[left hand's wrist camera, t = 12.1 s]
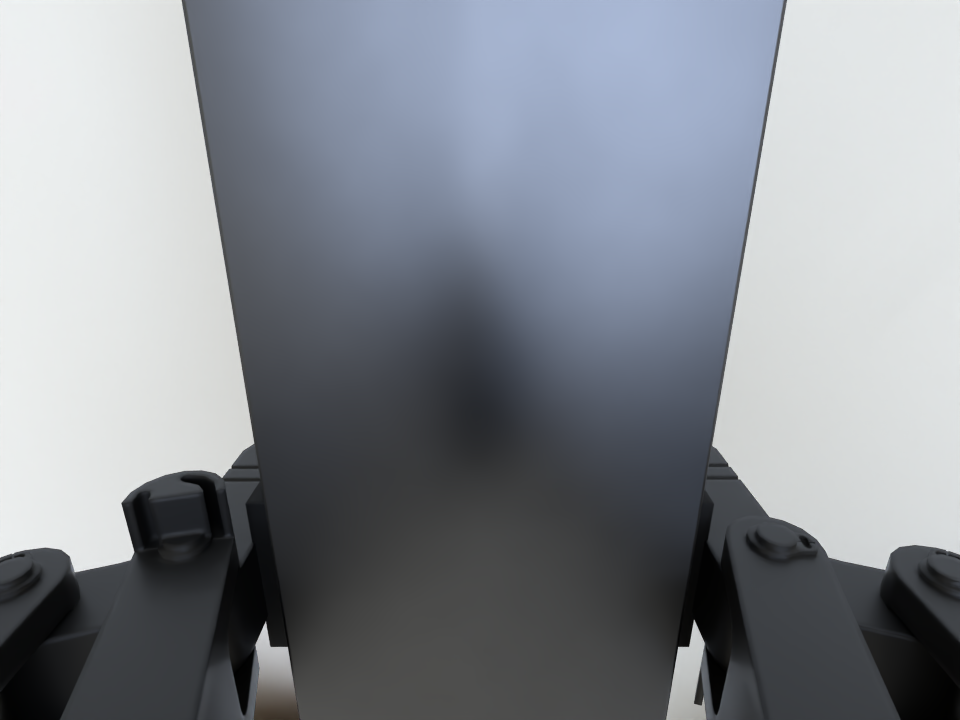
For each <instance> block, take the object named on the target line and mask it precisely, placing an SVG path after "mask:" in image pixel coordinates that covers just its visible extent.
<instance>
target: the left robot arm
mask: <svg viewBox="0 0 960 720" xmlns="http://www.w3.org/2000/svg"><path fill="white" fill-rule="evenodd" d="M122 507H123V511H124V515H125V518H126V522H127V526H128V529H129V533H130V537H131V541H132V544H133V548H134V555H133V557H132V559H131V560H130V561H126V562H123V563H119V564H114V565H109V566H105V567H100V568H95V569H90V570H85V571H81V572H76V573H75V572H74V569H73V566H72V563H71V559H70V556H68V555H67V554H66V553H64V552H63V551H62V550H59V549H51V548H39V549H32V550H24V551H20V552H16V553H14V554H9V555H7V556H4V557H1V558H0V720H254V711H255V702H256V693H257V684H258V675H259V664H258V657H257V652H256V646H255V644H256V642H257V640H258V637H259V635H260V633H261V631H262V628H263V626H264V624H265V622H266V624H267V629H268V635H269V641H270V646H271V647H288V644H287V638H286V632H285V626H284V620H283V614H282V608H281V602H280V596H279V589H278V583H277V577H276V571H275V565H274V559H273V553H272V547H271V541H270V535H269V529H268V522H267V516H266V510H265V504H264V498H263V492H262V486H261V480H260V474H259V468H258V461H257V455H256V449H255V444H253V445H252V446H250V447H249V448H247V449H246V450H244V451H243V452H242V453H241V454H240V456H239V457H238V458H237V460H236V461H235V462H234V464H233V465H232V469H229V470H228V471H227V473H226V474H225V475H224V477H223V478H221V477H220V476H218V475H217V474H216V473H211V472H207V471H183V472H178V473H173V474H169V475H165V476H162V477H159V478H157V479H154V480H152V481H149V482H147V483H145V484H143V485H142V486H140V487H139V488H137V489H135V490H134V491H132V492H131V493H130V494H129V495H128V496H127V497H126V499H125V500H124V501H123V502H122ZM694 620H695V622H696V624H697V626H698V629H699V631H700V633H701V635H702V638H703V640H704V642H705V646H704V652H703V657H702V662H701V667H700V673H699V678H698V683H697V689H696V694H695V701H694V704H697V705H702V701H703V696H704V701H705V710H706V719H707V720H960V555H959V554H956V553H953V552H950V551H949V552H948V551H946V550H943V549H939V548H933V547H925V546H918V545H912V546H905V547H899V548H898V549H896V550H895V551H894V552H892V553H891V555H890V558H889V561H888V564H887V567H886V570H882V569H877V568H872V567H867V566H862V565H858V564H853V563H848V562H843V561H839V560H835V559H832V558H828V556H827V554H826V551H825V550H824V549H823V547H822V546H821V545H820V543H819V542H818V541H817V540H816V539H815V538H814V537H812V536H811V535H810V534H808V533H807V532H806V531H804V530H803V529H801V528H799V527H797V526H794V525H792V524H790V523H788V522H786V521H783V520H779V519H774V518H770V517H769V516H768V515H767V513H766V512H765V511H764V510H763V508H762V507H761V506H760V504H759V503H758V502H757V501H756V499H755V498H754V497H753V495H752V494H751V493H750V491H749V490H748V489H747V488H746V486H745V485H744V484H743V482H742V481H741V480H738V476H737V475H736V473H735V472H734V471H733V470H732V468H731V467H728V463H727V462H726V460H725V459H724V458H723V457H722V455H721V454H720V453H719V451H718V450H717V449H716V448H714V447H713V446H712V448H711V454H710V460H709V466H708V472H707V478H706V484H705V490H704V496H703V502H702V508H701V514H700V520H699V526H698V531H697V537H696V543H695V549H694V555H693V561H692V567H691V573H690V579H689V585H688V591H687V597H686V603H685V609H684V615H683V621H682V627H681V633H680V638H679V644H678V647H689V644H690V638H691V633H692V627H693V621H694Z"/></svg>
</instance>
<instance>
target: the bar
mask: <svg viewBox="0 0 960 720" xmlns="http://www.w3.org/2000/svg"><path fill="white" fill-rule="evenodd" d="M786 2H787V0H182V4H183V10H184V17H185V23H186V29H187V35H188V41H189V47H190V53H191V59H192V65H193V71H194V77H195V84H196V90H197V96H198V102H199V108H200V114H201V120H202V126H203V132H204V138H205V145H206V151H207V157H208V163H209V169H210V175H211V181H212V187H213V193H214V199H215V205H216V212H217V218H218V224H219V230H220V236H221V242H222V248H223V254H224V260H225V266H226V273H227V279H228V285H229V291H230V297H231V303H232V309H233V315H234V321H235V327H236V333H237V340H238V346H239V352H240V358H241V364H242V370H243V376H244V382H245V388H246V394H247V401H248V407H249V413H250V419H251V425H252V431H253V437H254V443H255V449H256V455H257V461H258V468H259V474H260V480H261V486H262V492H263V498H264V504H265V510H266V516H267V522H268V529H269V535H270V541H271V547H272V553H273V559H274V565H275V571H276V577H277V583H278V589H279V596H280V602H281V608H282V614H283V620H284V626H285V632H286V638H287V644H288V650H289V657H290V663H291V669H292V675H293V681H294V687H295V693H296V699H297V705H298V711H299V717H300V720H666V716H667V710H668V704H669V698H670V692H671V686H672V680H673V674H674V668H675V662H676V656H677V650H678V644H679V638H680V633H681V627H682V621H683V615H684V609H685V603H686V597H687V591H688V585H689V579H690V573H691V567H692V561H693V555H694V549H695V543H696V537H697V531H698V526H699V520H700V514H701V508H702V502H703V496H704V490H705V484H706V478H707V472H708V466H709V460H710V454H711V448H712V442H713V436H714V430H715V424H716V419H717V413H718V407H719V401H720V395H721V389H722V383H723V377H724V371H725V365H726V359H727V353H728V347H729V341H730V335H731V329H732V323H733V318H734V312H735V306H736V300H737V294H738V288H739V282H740V276H741V270H742V264H743V258H744V252H745V246H746V240H747V234H748V228H749V222H750V216H751V211H752V205H753V199H754V193H755V187H756V181H757V175H758V169H759V163H760V157H761V151H762V145H763V139H764V133H765V127H766V121H767V115H768V109H769V104H770V98H771V92H772V86H773V80H774V74H775V68H776V62H777V56H778V50H779V44H780V38H781V32H782V26H783V20H784V14H785V8H786Z"/></svg>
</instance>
